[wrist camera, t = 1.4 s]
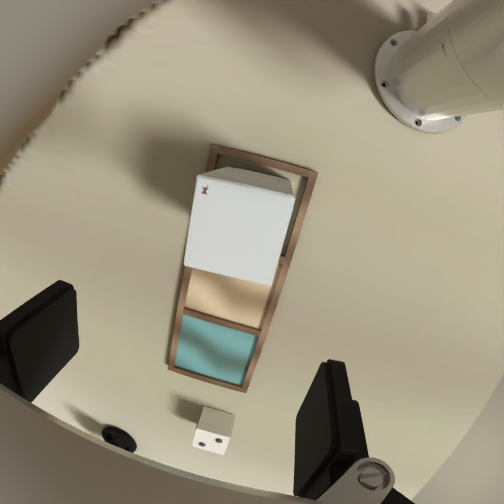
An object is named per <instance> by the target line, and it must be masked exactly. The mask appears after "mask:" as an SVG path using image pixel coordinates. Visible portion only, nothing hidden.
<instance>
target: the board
mask: <svg viewBox="0 0 504 504" xmlns="http://www.w3.org/2000/svg"><path fill="white" fill-rule="evenodd" d="M219 154H222V155H226V156H231V157H235V158H239V159H243V160H246V161H250V162H254V163H258V164H262V165H265V166H269V167H273V168H276V169H280V170H284V171H287V172H291V173H294V174H297V175H301V176H304V177H308V179H307V183H306V186H305V190H304V193H303V197H302V200H301V203H300V207H299V210H298V213H297V217H296V220H295V223H294V227H293V230H292V233H291V237H290V240H289V243H288V246H287V250H286V253H285V255H281V254H280V258H279V261H278V265H277V268H276V272H275V275H274V279H273V282H272V286H267V285H263V284H259V283H254V282H250V281H246V280H241V279H237V278H233V277H229V276H224V275H220V274H216V273H212V272H208V271H204V270H200V269H196V268H192V267H188V266H185V269H184V275H183V280H182V285H181V291H180V296H179V302H178V308H177V313H176V319H175V325H174V331H173V338H172V344H171V350H170V357H169V364H168V370H171V371H174V372H176V373H179V374H183V375H186V376H189V377H192V378H195V379H198V380H201V381H205V382H208V383H211V384H215V385H218V386H222V387H225V388H229V389H232V390H236V391H240V392H244V393H246V392H247V389H248V386H249V383H250V381H251V378H252V375H253V372H254V370H255V367H256V364H257V361H258V358H259V355H260V353H261V350H262V347H263V344H264V341H265V338H266V335H267V332H268V329H269V326H270V324H271V321H272V318H273V315H274V312H275V309H276V306H277V303H278V300H279V297H280V294H281V291H282V288H283V285H284V281H285V278H286V275H287V272H288V269H289V266H290V263H291V260H292V257H293V253H294V250H295V247H296V244H297V241H298V237H299V234H300V231H301V228H302V225H303V221H304V218H305V215H306V211H307V208H308V205H309V201H310V198H311V195H312V191H313V188H314V185H315V181H316V178H317V174H318V173H317V172H314V171H311V170H308V169H304V168H301V167H297V166H294V165H291V164H287V163H284V162H280V161H276V160H273V159H269V158H265V157H261V156H258V155H254V154H250V153H246V152H242V151H238V150H234V149H230V148H226V147H221V146H217V145H212V147H211V151H210V155H209V159H208V164H207V168H206V172H210V171H213V170H215V167H216V163H217V159H218V155H219ZM206 172H205V173H206Z"/></svg>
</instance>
